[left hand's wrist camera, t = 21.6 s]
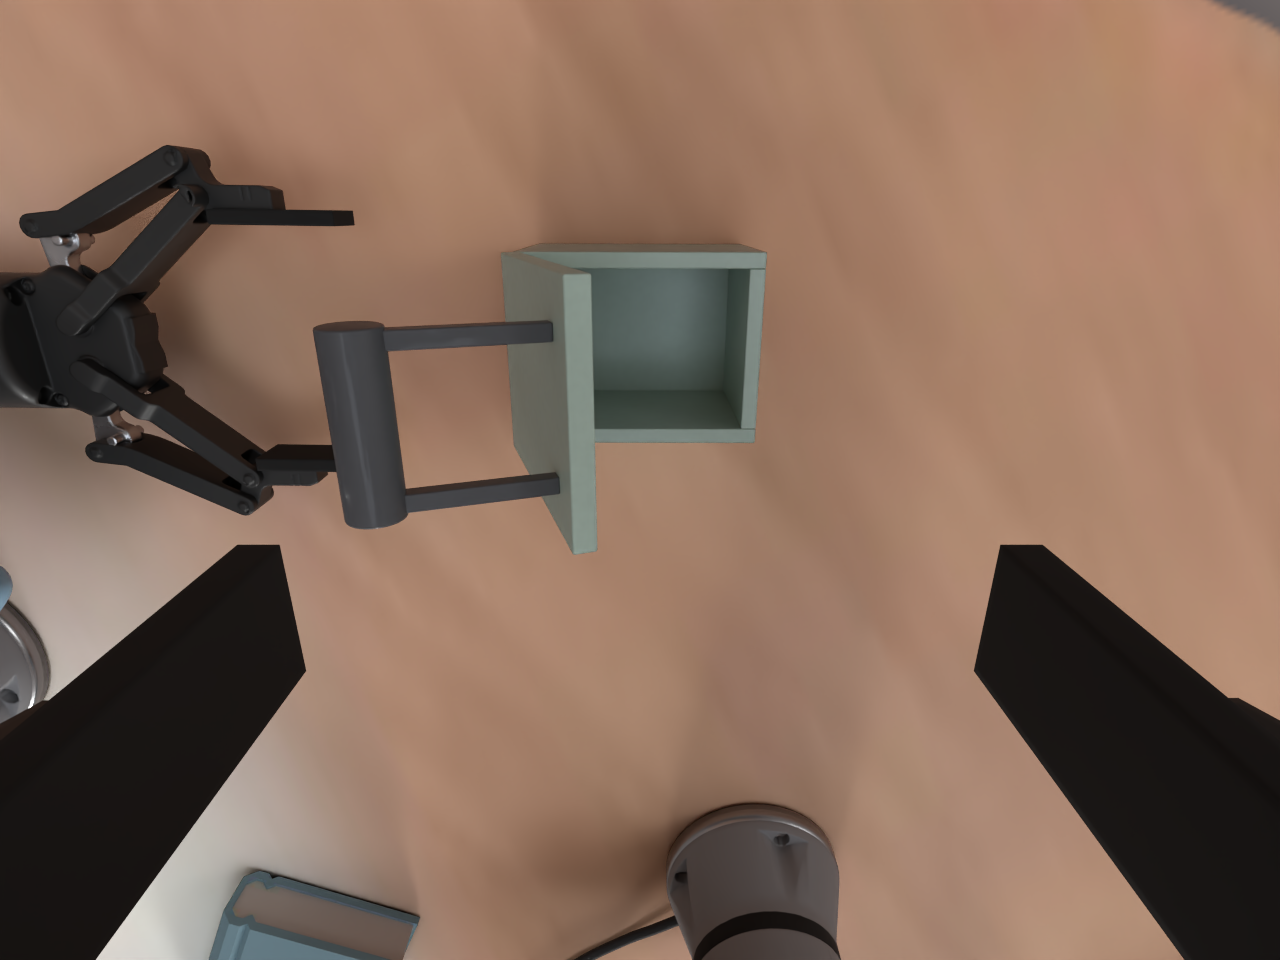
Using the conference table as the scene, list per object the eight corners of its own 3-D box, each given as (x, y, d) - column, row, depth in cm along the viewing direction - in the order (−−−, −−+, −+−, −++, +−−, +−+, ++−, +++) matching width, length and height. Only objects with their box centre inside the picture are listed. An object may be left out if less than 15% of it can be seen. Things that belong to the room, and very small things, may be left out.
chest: (741, 243, 43) (767, 252, 34) (733, 399, 47) (754, 443, 38) (538, 243, 43) (512, 251, 34) (546, 398, 47) (524, 442, 38)
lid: (591, 273, 22) (295, 280, 20) (598, 552, 26) (348, 589, 23) (520, 251, 34) (330, 254, 31) (531, 444, 38) (361, 461, 35)
